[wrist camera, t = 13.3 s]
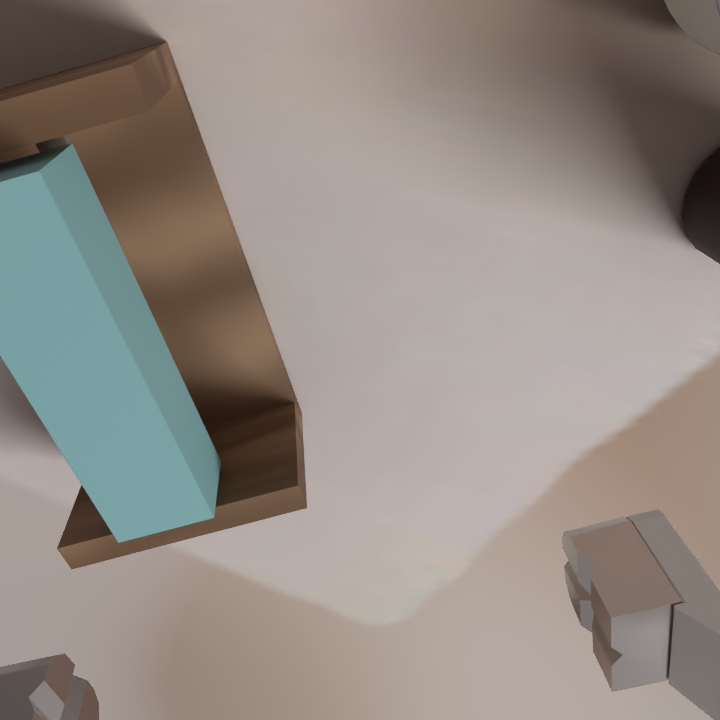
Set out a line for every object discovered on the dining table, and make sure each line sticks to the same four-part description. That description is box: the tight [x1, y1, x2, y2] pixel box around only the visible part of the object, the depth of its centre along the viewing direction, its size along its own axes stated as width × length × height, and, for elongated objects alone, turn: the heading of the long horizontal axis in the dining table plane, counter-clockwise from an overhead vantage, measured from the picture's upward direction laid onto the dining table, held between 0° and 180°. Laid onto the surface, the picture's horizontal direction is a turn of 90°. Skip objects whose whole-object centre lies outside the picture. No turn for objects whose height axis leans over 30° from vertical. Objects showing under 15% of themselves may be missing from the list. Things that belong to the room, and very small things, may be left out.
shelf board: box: [0, 144, 221, 543], centre depth 27 cm, size 16×4×4 cm, turn 14°
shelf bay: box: [0, 42, 307, 569], centre depth 30 cm, size 20×12×8 cm, turn 14°
